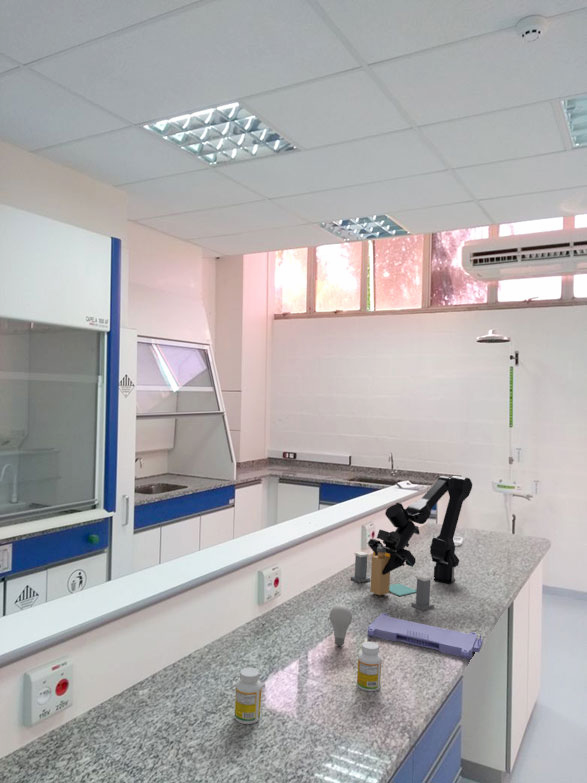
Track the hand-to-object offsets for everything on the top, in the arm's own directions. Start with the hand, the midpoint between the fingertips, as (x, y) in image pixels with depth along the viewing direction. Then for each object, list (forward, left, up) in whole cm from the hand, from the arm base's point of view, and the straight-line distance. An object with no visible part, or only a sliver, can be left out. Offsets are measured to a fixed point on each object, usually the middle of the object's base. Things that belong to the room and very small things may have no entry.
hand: (377, 571), depth 203 cm
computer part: (-25, +26, -9) cm, 37 cm away
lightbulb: (-7, +44, -8) cm, 45 cm away
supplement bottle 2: (-22, +60, -8) cm, 64 cm away
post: (-16, +1, -8) cm, 18 cm away
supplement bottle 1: (-6, +87, -8) cm, 87 cm away
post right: (+11, -12, -8) cm, 18 cm away
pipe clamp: (+14, -48, -8) cm, 51 cm away
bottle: (-1, -1, -7) cm, 7 cm away
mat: (-5, -10, -8) cm, 13 cm away
